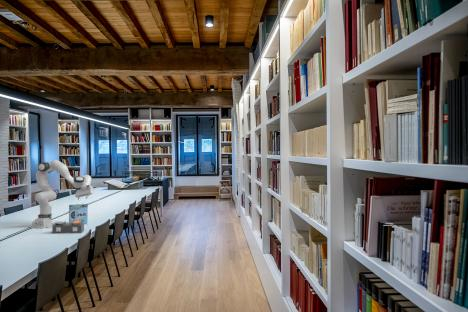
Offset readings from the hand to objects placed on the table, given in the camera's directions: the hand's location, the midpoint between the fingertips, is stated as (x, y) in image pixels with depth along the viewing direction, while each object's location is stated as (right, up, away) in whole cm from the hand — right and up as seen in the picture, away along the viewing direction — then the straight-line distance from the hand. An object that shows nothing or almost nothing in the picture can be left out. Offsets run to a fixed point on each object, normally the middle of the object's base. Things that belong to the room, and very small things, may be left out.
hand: (82, 199), depth 367 cm
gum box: (-17, -33, +27) cm, 46 cm away
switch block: (-8, -32, -15) cm, 37 cm away
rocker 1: (-16, -22, -16) cm, 32 cm away
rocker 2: (0, -23, -13) cm, 26 cm away
